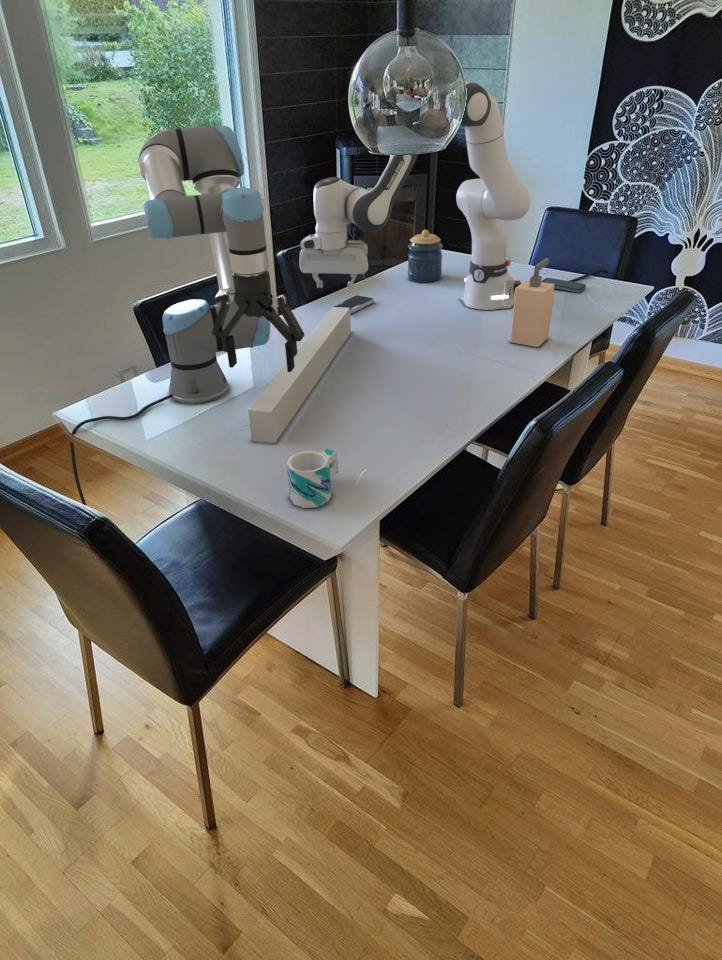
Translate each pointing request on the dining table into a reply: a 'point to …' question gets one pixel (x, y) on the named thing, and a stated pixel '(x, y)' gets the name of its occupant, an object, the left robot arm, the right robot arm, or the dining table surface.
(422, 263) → the canister
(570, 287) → the smartphone
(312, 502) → the mug
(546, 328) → the soap dispenser
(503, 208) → the right robot arm
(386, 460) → the dining table surface
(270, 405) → the bar
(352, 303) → the smartphone
